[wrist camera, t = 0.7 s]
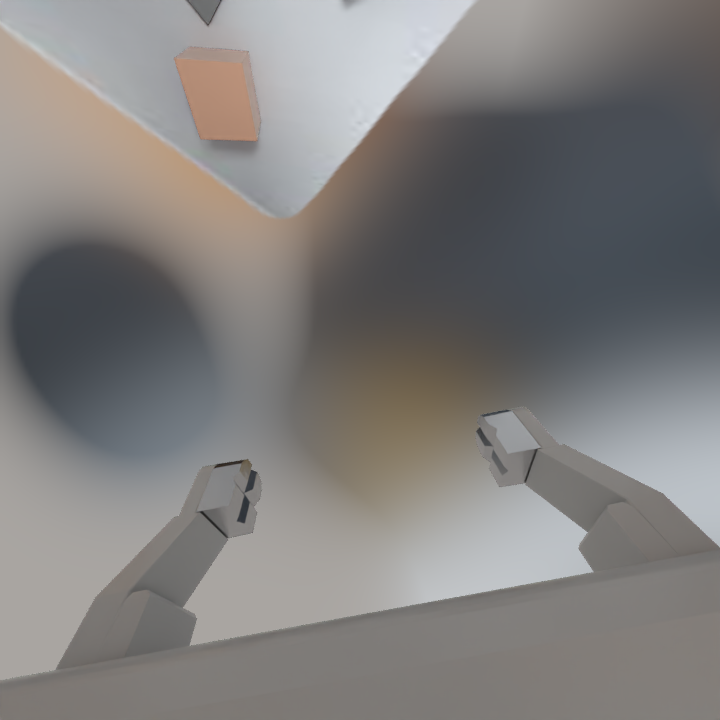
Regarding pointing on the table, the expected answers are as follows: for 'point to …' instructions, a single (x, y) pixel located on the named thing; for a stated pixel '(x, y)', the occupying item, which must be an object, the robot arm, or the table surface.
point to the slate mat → (205, 8)
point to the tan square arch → (220, 93)
